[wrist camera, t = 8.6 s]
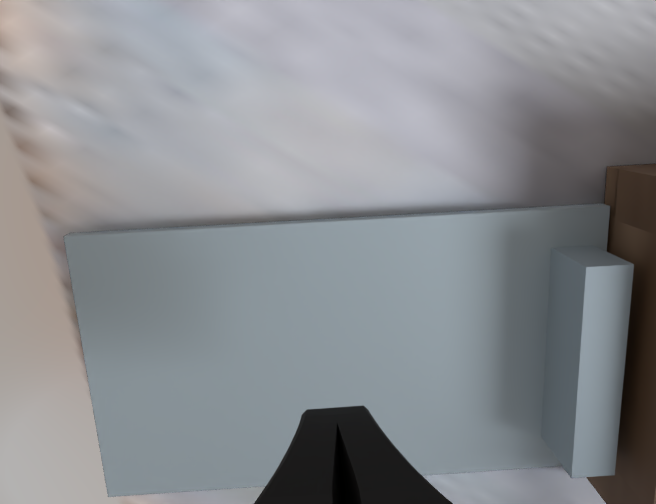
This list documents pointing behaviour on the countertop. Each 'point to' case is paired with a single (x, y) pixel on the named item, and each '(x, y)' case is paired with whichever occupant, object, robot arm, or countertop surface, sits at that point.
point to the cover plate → (354, 341)
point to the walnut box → (635, 334)
